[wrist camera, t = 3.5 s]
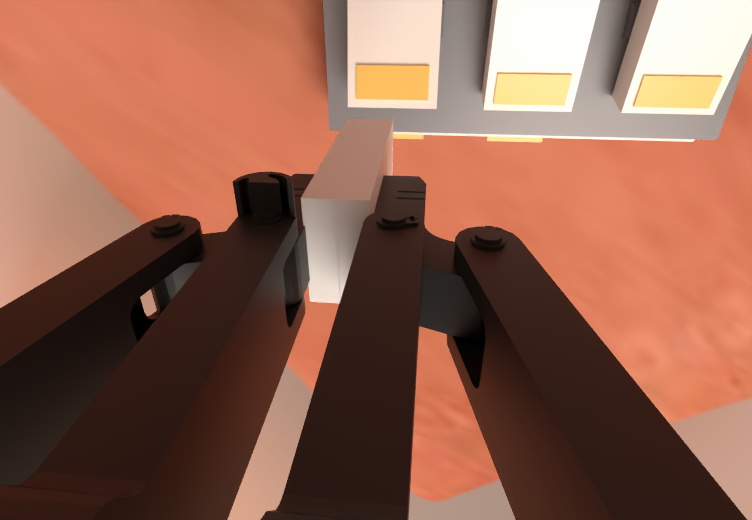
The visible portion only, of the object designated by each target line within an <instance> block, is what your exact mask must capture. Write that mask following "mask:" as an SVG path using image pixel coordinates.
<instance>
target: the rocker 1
mask: <svg viewBox="0 0 752 520" xmlns="http://www.w3.org/2000/svg"><path fill="white" fill-rule="evenodd" d="M441 18H442V0H348V107H363V108H411V109H437V92H438V73H439V55H440V36H441Z"/></svg>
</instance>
